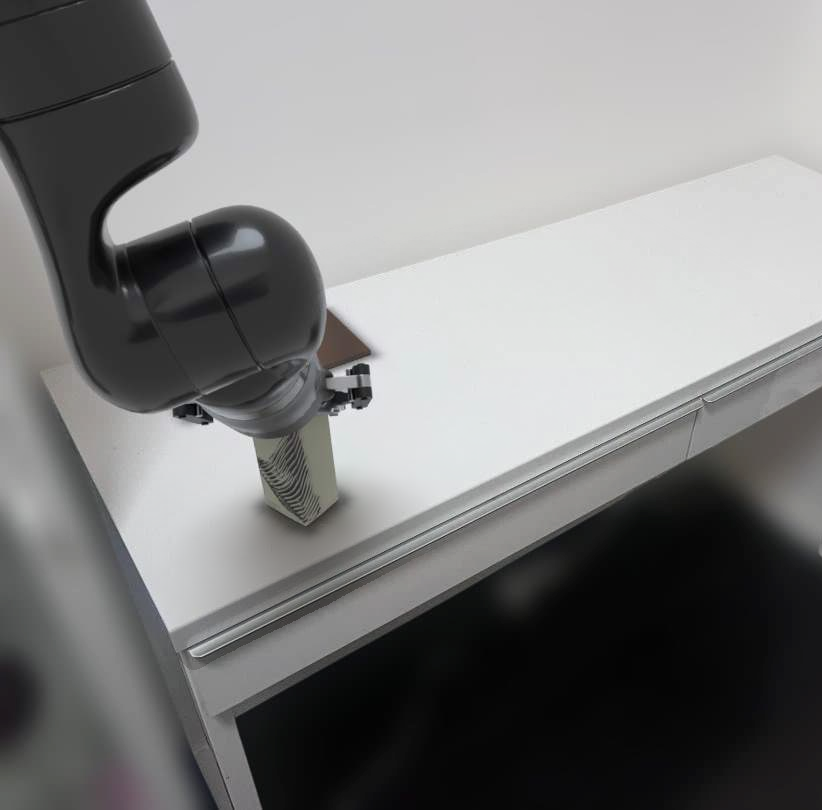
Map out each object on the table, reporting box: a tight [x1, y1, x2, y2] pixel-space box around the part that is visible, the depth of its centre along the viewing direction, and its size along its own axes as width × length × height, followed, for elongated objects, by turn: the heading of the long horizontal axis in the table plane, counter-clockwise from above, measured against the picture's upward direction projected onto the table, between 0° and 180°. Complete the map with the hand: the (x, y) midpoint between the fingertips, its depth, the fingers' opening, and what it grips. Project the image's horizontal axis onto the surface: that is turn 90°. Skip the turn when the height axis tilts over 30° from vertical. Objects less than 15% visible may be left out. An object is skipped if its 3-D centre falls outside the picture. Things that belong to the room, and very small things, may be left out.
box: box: [252, 415, 339, 527], centre depth 67 cm, size 5×4×13 cm
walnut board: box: [316, 308, 372, 370], centre depth 88 cm, size 20×11×1 cm, turn 128°
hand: (289, 408), depth 67 cm, fingers closed on box, 6 cm apart
